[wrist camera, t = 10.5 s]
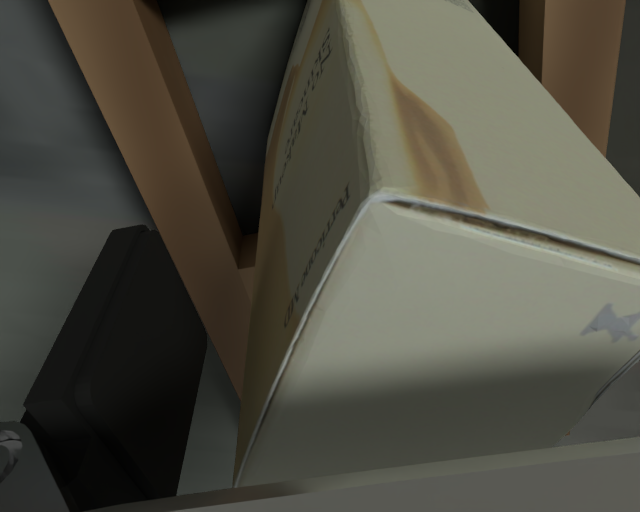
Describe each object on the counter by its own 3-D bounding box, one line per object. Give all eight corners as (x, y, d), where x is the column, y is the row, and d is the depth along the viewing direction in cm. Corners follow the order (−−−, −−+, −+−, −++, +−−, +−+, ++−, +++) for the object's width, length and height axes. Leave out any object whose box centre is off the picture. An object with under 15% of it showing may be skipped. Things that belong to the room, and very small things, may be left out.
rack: (613, -247, 12) (659, -258, 11) (553, 399, 27) (569, 434, 25) (40, -95, 14) (6, -86, 12) (278, 440, 28) (276, 476, 27)
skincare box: (324, -62, 14) (376, 151, 5) (469, -6, 15) (756, 266, 6) (261, 148, 18) (218, 509, 8) (381, 183, 19) (466, 542, 9)
